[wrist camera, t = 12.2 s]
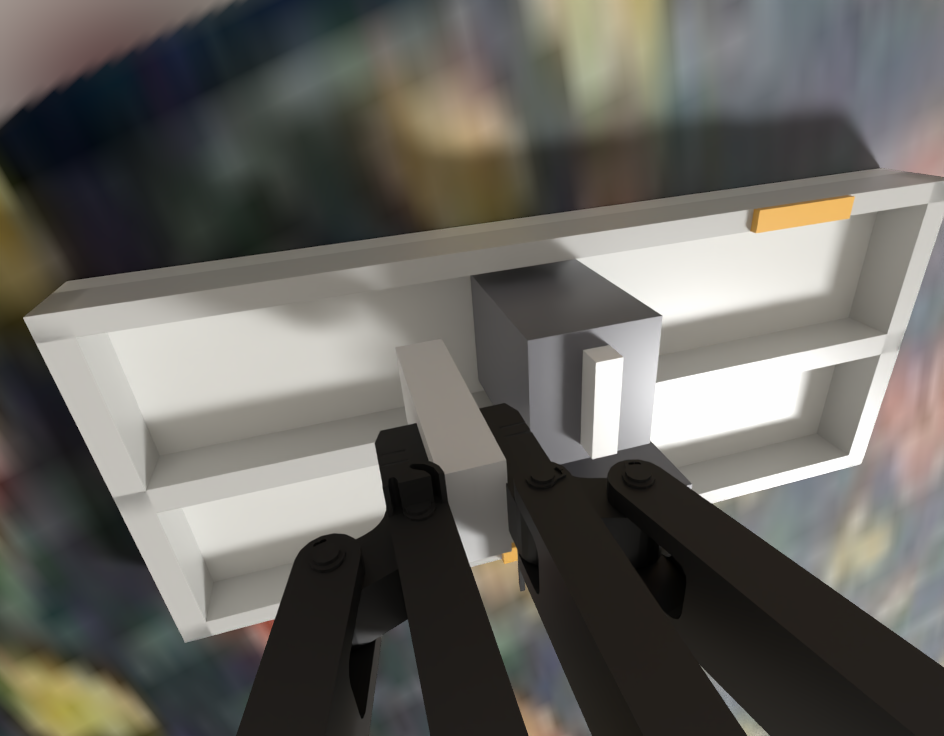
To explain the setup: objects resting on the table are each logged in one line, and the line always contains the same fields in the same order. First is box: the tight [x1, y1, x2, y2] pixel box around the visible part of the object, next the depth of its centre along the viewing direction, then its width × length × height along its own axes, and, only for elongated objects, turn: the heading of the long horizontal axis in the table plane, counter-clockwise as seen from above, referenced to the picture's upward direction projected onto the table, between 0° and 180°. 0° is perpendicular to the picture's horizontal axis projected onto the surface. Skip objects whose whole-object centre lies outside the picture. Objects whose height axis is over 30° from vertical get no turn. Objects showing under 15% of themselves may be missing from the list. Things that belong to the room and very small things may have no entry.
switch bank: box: [23, 168, 944, 643], centre depth 23 cm, size 14×32×4 cm, turn 93°
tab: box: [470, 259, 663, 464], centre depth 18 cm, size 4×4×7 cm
